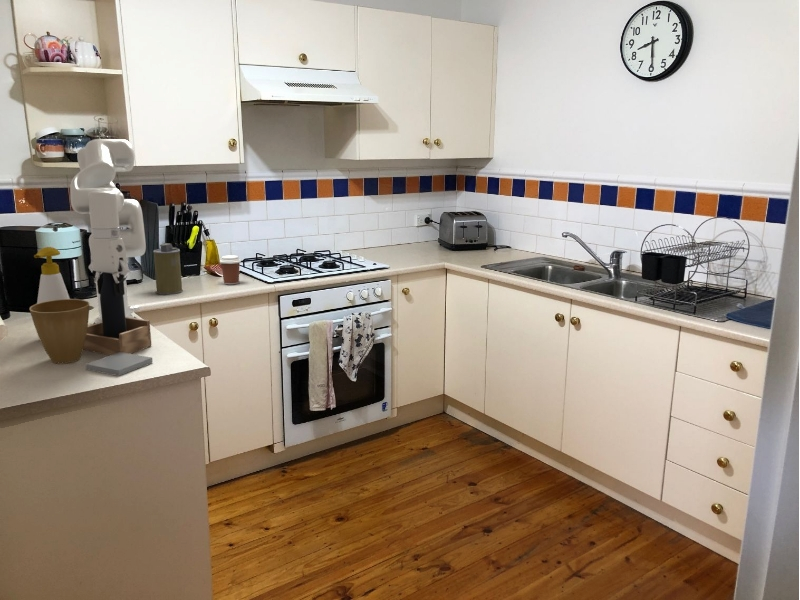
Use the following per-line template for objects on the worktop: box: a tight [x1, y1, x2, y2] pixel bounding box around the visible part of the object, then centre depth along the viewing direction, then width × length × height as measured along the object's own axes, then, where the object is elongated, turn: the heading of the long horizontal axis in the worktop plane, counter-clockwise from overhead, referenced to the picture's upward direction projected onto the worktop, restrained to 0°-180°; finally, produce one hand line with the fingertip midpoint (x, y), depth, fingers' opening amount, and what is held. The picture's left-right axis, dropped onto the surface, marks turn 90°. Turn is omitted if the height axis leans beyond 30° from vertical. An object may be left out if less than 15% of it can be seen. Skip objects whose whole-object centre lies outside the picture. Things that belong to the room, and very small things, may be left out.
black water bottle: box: [100, 247, 126, 339], centre depth 195 cm, size 6×6×30 cm
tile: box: [85, 352, 154, 376], centre depth 182 cm, size 12×12×2 cm
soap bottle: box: [33, 246, 71, 304], centre depth 202 cm, size 13×10×29 cm
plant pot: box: [29, 298, 90, 364], centre depth 185 cm, size 15×15×16 cm
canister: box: [152, 242, 184, 295], centre depth 272 cm, size 11×10×20 cm
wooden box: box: [83, 317, 152, 356], centre depth 197 cm, size 12×16×8 cm
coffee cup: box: [219, 254, 242, 285], centre depth 290 cm, size 9×9×12 cm
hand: (111, 293), depth 195 cm, fingers closed on black water bottle, 5 cm apart
